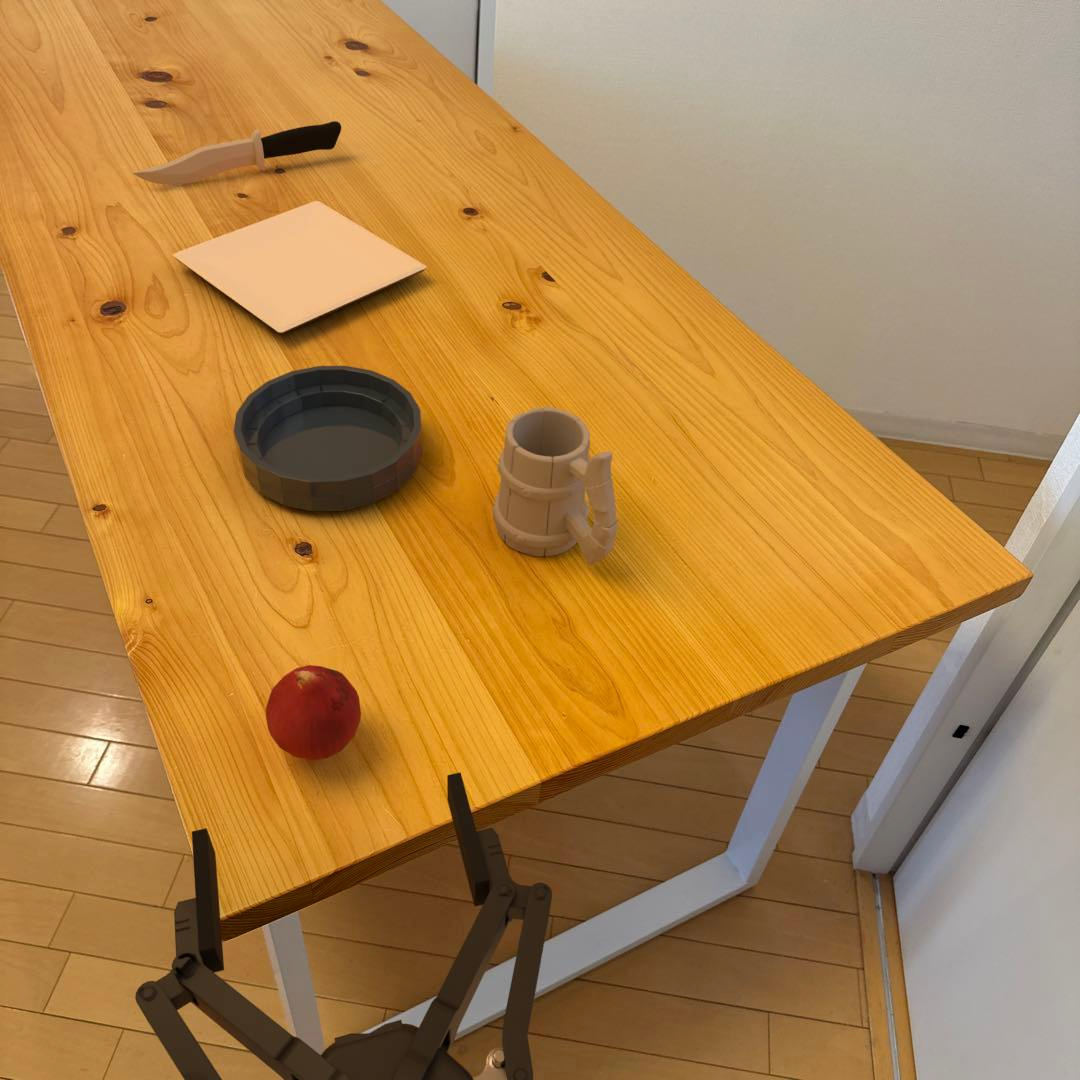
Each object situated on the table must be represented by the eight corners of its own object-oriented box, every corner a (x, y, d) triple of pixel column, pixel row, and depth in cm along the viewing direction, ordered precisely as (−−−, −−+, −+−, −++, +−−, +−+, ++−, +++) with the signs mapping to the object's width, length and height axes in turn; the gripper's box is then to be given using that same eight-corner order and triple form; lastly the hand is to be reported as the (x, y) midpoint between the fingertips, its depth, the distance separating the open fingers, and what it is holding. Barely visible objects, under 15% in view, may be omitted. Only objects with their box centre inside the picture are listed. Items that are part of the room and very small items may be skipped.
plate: (282, 349, 97) (279, 331, 95) (174, 270, 105) (170, 252, 104) (428, 282, 107) (427, 265, 105) (319, 215, 115) (317, 198, 114)
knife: (139, 195, 116) (129, 153, 112) (135, 188, 117) (125, 146, 113) (345, 161, 125) (342, 121, 121) (340, 155, 126) (337, 115, 122)
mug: (544, 481, 86) (555, 366, 77) (640, 562, 80) (663, 447, 71) (473, 518, 82) (476, 401, 74) (568, 606, 76) (583, 490, 68)
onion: (334, 694, 69) (324, 619, 64) (381, 751, 66) (374, 679, 61) (258, 737, 66) (240, 663, 61) (303, 799, 63) (288, 728, 58)
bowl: (233, 521, 80) (225, 484, 77) (249, 403, 91) (243, 366, 88) (424, 515, 82) (423, 478, 79) (419, 400, 93) (418, 364, 90)
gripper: (106, 1388, 41) (107, 900, 55) (675, 1193, 47) (545, 798, 61) (53, 1366, 35) (70, 831, 49) (704, 1150, 41) (554, 728, 55)
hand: (332, 812), depth 55 cm, fingers open, 13 cm apart
